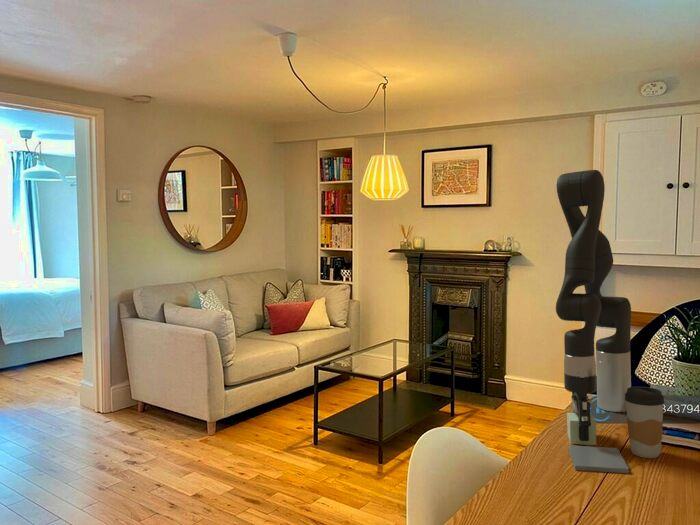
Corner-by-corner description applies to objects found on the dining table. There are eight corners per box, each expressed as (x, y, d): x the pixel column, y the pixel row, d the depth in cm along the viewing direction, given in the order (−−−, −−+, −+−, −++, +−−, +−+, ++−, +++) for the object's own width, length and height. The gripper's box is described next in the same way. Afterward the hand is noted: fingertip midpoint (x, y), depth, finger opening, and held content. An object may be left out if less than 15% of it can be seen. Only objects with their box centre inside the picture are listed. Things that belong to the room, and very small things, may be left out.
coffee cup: (655, 446, 134) (654, 385, 134) (672, 460, 126) (671, 395, 125) (620, 446, 135) (618, 386, 134) (634, 460, 127) (632, 396, 126)
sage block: (567, 435, 144) (567, 412, 144) (592, 436, 143) (591, 413, 142) (570, 444, 138) (569, 420, 138) (596, 445, 137) (595, 421, 136)
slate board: (568, 449, 135) (568, 445, 135) (617, 452, 132) (617, 447, 132) (575, 470, 123) (575, 465, 123) (629, 473, 120) (628, 468, 120)
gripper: (560, 364, 147) (562, 424, 148) (567, 378, 134) (569, 444, 134) (591, 365, 146) (592, 425, 146) (601, 379, 132) (602, 445, 133)
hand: (581, 434), depth 140 cm, fingers open, 8 cm apart
